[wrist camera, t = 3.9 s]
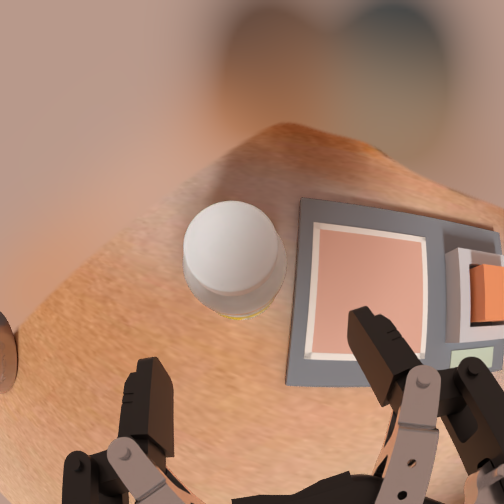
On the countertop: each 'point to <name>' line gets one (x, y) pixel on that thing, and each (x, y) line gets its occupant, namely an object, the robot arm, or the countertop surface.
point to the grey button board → (386, 289)
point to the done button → (487, 293)
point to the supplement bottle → (234, 259)
